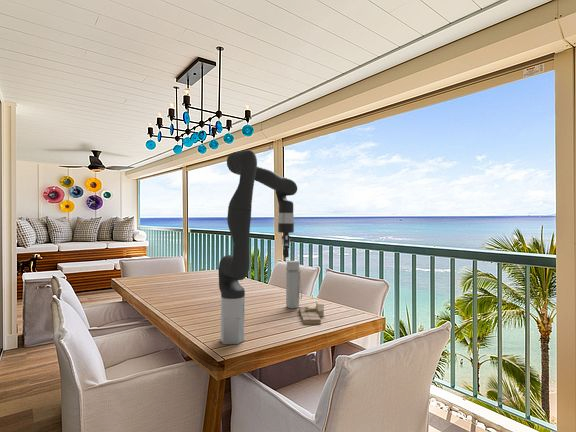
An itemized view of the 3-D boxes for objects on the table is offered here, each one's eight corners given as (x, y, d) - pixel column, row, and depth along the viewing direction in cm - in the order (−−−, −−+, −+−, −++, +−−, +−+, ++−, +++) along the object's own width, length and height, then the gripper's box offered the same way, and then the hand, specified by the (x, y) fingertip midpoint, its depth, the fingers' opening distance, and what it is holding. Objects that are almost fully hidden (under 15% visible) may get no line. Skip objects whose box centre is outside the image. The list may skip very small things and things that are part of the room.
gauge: (323, 316, 162) (323, 304, 162) (305, 316, 161) (305, 304, 161) (322, 313, 167) (322, 301, 167) (304, 313, 166) (304, 301, 166)
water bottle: (283, 307, 176) (283, 261, 177) (290, 304, 183) (290, 260, 184) (298, 310, 172) (298, 262, 172) (304, 306, 179) (305, 261, 179)
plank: (320, 324, 149) (320, 319, 149) (303, 324, 149) (303, 319, 149) (314, 310, 171) (314, 306, 171) (298, 310, 171) (299, 306, 171)
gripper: (294, 222, 149) (294, 258, 149) (292, 222, 163) (292, 254, 163) (278, 222, 149) (278, 258, 148) (277, 222, 163) (277, 254, 163)
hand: (285, 256), depth 156 cm, fingers open, 8 cm apart
